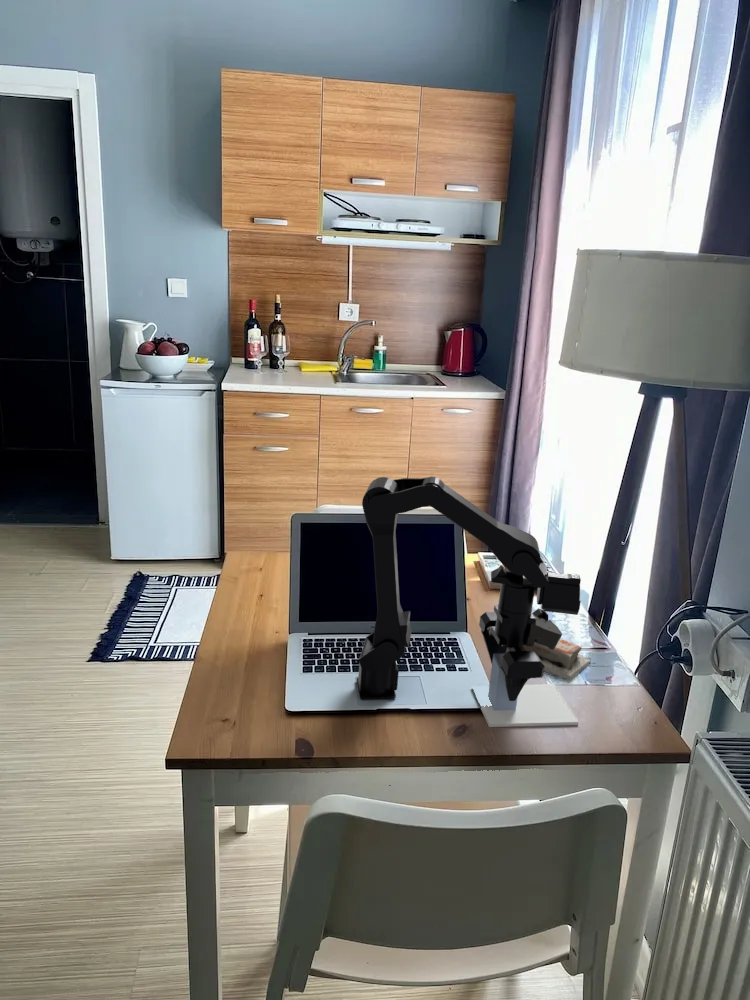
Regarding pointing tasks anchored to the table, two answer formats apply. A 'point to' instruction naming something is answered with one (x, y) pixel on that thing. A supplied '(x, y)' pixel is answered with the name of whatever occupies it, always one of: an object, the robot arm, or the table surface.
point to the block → (499, 687)
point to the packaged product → (560, 658)
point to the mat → (533, 709)
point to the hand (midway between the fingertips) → (504, 685)
